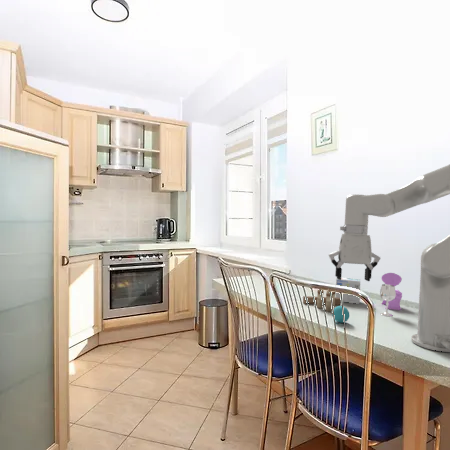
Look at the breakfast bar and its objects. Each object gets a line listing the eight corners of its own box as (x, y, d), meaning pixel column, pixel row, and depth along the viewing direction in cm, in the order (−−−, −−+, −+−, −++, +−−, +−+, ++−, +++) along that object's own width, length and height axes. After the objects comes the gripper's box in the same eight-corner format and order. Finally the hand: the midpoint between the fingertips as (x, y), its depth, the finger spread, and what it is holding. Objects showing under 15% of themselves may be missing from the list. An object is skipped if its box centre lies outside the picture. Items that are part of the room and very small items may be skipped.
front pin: (332, 311, 137) (333, 291, 137) (326, 311, 137) (327, 291, 137) (330, 310, 140) (331, 290, 139) (324, 309, 140) (325, 289, 139)
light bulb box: (359, 301, 157) (360, 278, 157) (359, 304, 151) (360, 281, 151) (335, 298, 161) (336, 276, 161) (334, 301, 155) (336, 278, 155)
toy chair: (383, 308, 145) (385, 274, 145) (378, 303, 154) (380, 271, 154) (404, 310, 144) (405, 276, 143) (398, 305, 152) (400, 272, 152)
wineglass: (391, 313, 139) (392, 284, 138) (396, 317, 133) (398, 287, 132) (376, 312, 139) (378, 283, 139) (381, 316, 133) (383, 286, 133)
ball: (351, 325, 120) (352, 308, 120) (334, 324, 120) (335, 308, 120) (345, 320, 126) (346, 304, 126) (329, 319, 126) (330, 303, 126)
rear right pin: (335, 309, 141) (336, 289, 141) (329, 309, 141) (330, 289, 141) (333, 307, 144) (334, 288, 144) (327, 307, 144) (328, 287, 144)
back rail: (340, 305, 148) (340, 298, 148) (303, 303, 148) (304, 297, 148) (338, 304, 150) (338, 297, 150) (302, 302, 150) (303, 296, 150)
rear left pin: (323, 308, 141) (324, 288, 141) (317, 308, 141) (318, 288, 141) (321, 307, 144) (322, 287, 144) (316, 306, 144) (316, 287, 144)
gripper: (333, 229, 112) (330, 280, 112) (386, 232, 111) (382, 283, 111) (327, 228, 119) (325, 276, 120) (377, 231, 119) (374, 279, 119)
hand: (352, 279), depth 116 cm, fingers open, 9 cm apart
